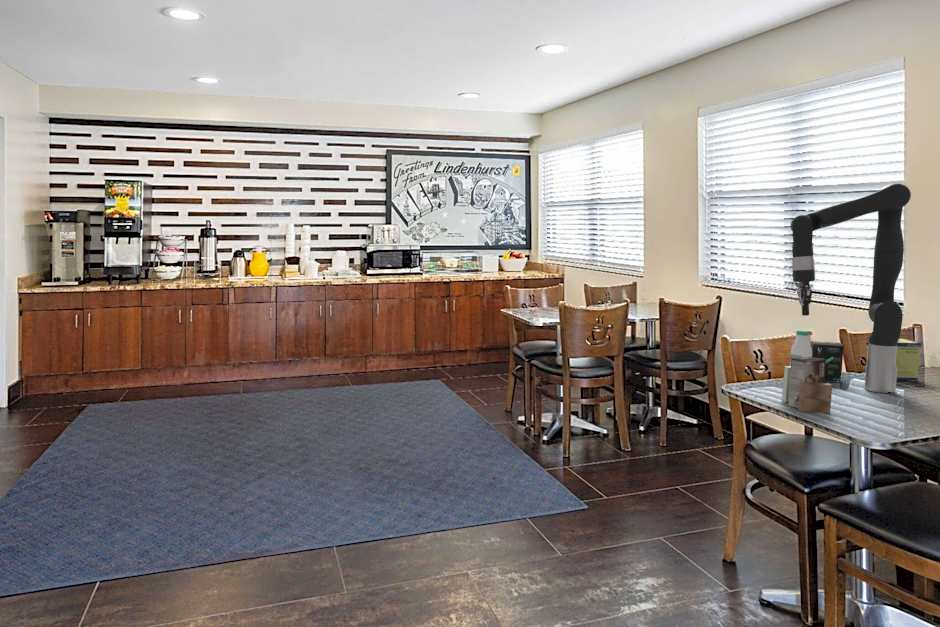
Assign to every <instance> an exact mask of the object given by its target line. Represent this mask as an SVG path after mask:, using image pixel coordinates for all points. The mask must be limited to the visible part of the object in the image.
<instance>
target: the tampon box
mask: <svg viewBox="0 0 940 627" xmlns="http://www.w3.org/2000/svg"><path fill="white" fill-rule="evenodd" d="M810 346H811V349H812V357H814V358H819V359H825V360H826V370H825V382H826V381H830V382H829V383H839V382H840V383H841V381H842V372H843V371H842V370H843V361H844V360H843V359H844V345H843V343H841V342H837V341H836V342H835V341H834V342H833V341H816V340H815V341H813V340H811V341H810ZM832 381H833V382H832ZM834 381H835V382H834ZM837 381H839V382H837Z"/></svg>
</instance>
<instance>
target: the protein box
mask: <svg viewBox="0 0 940 627" xmlns="http://www.w3.org/2000/svg"><path fill="white" fill-rule="evenodd" d="M921 347H922V342H918V341H914V340H910V339H907V338H899V340H898V343H897V353H896V364H895V366H897V367H898V371H897V380H917V381H918V377H919V369H920V368H919V366H920V359H921V358H920V356H921Z"/></svg>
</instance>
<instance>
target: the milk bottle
mask: <svg viewBox="0 0 940 627" xmlns="http://www.w3.org/2000/svg"><path fill="white" fill-rule="evenodd" d="M795 332H796V338H795V342H794V343H793V344H792V346H791V349H790V356H789V364H788V366H791V358H802V357H812V349H811V346H810V345H811V343H810V341H809V337H810V331H809V330H806V329H797V330H796V331H795Z"/></svg>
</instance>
